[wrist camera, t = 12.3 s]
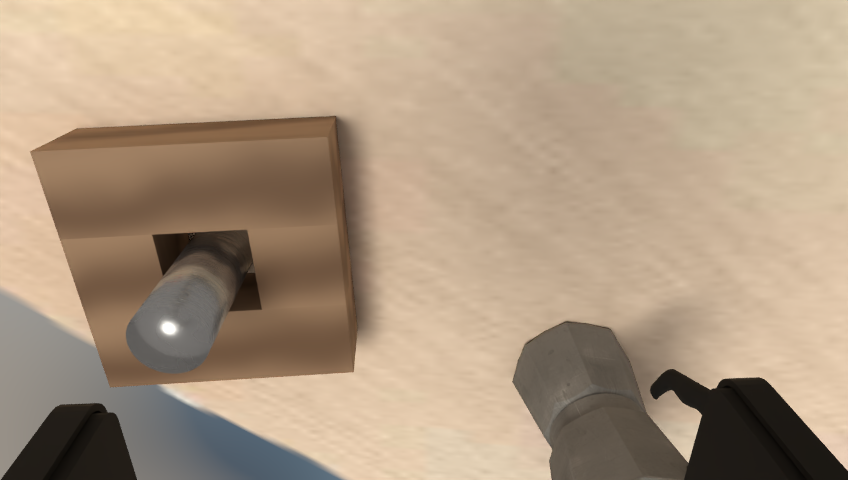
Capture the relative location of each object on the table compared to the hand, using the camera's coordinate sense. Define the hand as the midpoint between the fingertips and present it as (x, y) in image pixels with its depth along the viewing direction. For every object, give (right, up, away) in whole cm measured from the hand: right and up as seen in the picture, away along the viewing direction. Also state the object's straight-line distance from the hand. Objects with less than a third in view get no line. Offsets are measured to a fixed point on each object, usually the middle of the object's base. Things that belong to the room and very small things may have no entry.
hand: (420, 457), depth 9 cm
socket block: (-13, +4, +30) cm, 33 cm away
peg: (-13, +4, +30) cm, 33 cm away
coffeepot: (+12, -6, +36) cm, 38 cm away
